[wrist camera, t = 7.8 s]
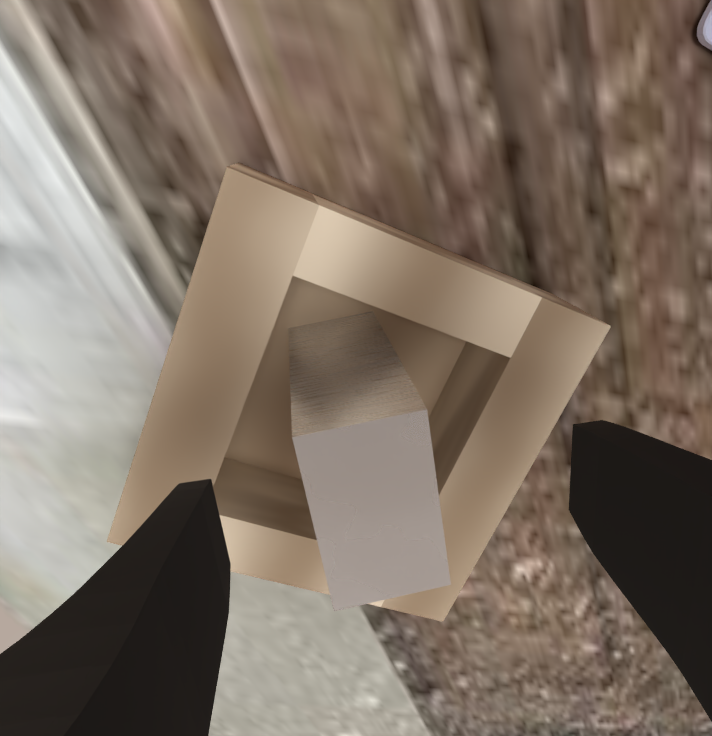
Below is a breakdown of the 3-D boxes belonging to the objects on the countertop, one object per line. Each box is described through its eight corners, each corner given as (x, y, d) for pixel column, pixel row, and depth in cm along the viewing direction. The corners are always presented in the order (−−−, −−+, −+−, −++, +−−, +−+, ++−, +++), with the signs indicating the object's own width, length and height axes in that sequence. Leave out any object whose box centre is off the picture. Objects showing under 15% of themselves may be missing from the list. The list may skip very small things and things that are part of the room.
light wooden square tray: (551, 293, 21) (610, 326, 17) (418, 548, 25) (442, 621, 21) (238, 162, 18) (226, 167, 14) (137, 472, 22) (106, 541, 18)
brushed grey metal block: (372, 311, 20) (426, 409, 12) (393, 435, 22) (450, 584, 14) (288, 328, 20) (291, 437, 12) (316, 451, 22) (334, 611, 14)
